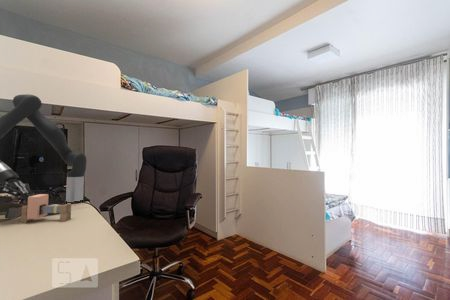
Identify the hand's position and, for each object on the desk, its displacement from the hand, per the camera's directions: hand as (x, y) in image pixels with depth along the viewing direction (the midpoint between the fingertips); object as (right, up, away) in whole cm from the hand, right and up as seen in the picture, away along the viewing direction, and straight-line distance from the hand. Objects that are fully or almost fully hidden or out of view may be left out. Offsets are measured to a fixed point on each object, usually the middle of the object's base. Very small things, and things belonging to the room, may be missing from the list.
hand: (30, 200), depth 98 cm
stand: (+7, -10, +1) cm, 12 cm away
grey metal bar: (+7, -6, +1) cm, 9 cm away
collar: (+3, -8, 0) cm, 9 cm away
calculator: (-4, -11, +11) cm, 16 cm away
